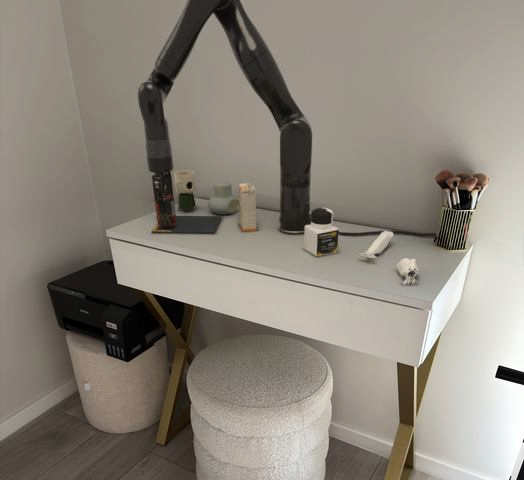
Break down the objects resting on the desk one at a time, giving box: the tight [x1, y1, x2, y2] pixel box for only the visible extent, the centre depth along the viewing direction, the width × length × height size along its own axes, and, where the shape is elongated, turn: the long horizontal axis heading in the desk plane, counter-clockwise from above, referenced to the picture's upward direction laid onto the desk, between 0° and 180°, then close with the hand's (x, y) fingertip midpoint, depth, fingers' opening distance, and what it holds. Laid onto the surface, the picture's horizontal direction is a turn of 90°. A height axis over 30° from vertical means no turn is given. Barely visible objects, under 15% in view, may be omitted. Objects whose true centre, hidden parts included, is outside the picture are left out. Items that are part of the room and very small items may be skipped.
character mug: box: [173, 169, 197, 212], centre depth 185 cm, size 11×7×13 cm, turn 155°
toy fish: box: [356, 230, 394, 259], centre depth 151 cm, size 6×18×4 cm, turn 150°
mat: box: [151, 215, 223, 235], centre depth 175 cm, size 20×16×1 cm
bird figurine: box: [396, 257, 420, 286], centre depth 136 cm, size 5×7×10 cm
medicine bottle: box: [303, 207, 340, 257], centre depth 151 cm, size 7×7×12 cm
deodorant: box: [151, 174, 177, 227], centre depth 167 cm, size 6×6×15 cm
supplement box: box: [238, 182, 258, 232], centre depth 169 cm, size 8×5×13 cm, turn 8°
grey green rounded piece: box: [207, 180, 240, 216], centre depth 183 cm, size 11×8×10 cm
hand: (165, 209), depth 168 cm, fingers closed on deodorant, 6 cm apart
